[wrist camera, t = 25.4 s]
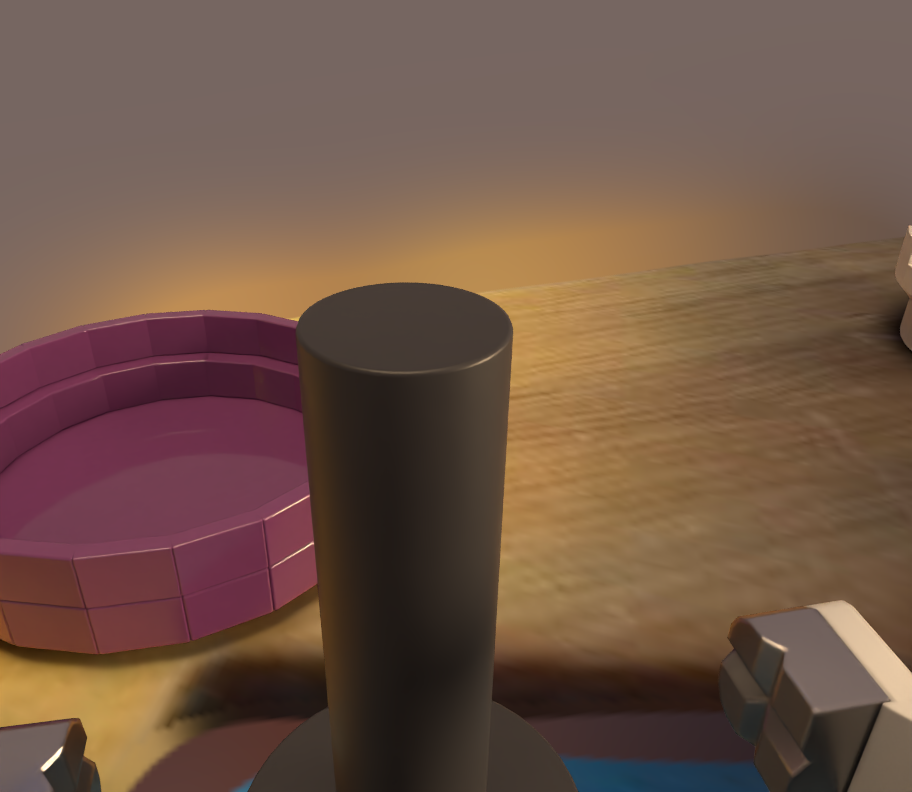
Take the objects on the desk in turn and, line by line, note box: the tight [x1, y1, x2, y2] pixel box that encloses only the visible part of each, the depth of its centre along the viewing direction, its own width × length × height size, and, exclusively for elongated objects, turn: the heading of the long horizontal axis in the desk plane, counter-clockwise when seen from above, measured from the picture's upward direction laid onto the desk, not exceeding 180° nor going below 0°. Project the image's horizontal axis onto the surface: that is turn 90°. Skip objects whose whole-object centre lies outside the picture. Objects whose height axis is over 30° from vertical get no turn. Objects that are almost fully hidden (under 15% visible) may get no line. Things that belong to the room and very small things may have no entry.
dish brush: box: [248, 283, 578, 792], centre depth 13 cm, size 6×6×14 cm
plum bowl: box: [0, 310, 318, 654], centre depth 28 cm, size 15×15×4 cm
